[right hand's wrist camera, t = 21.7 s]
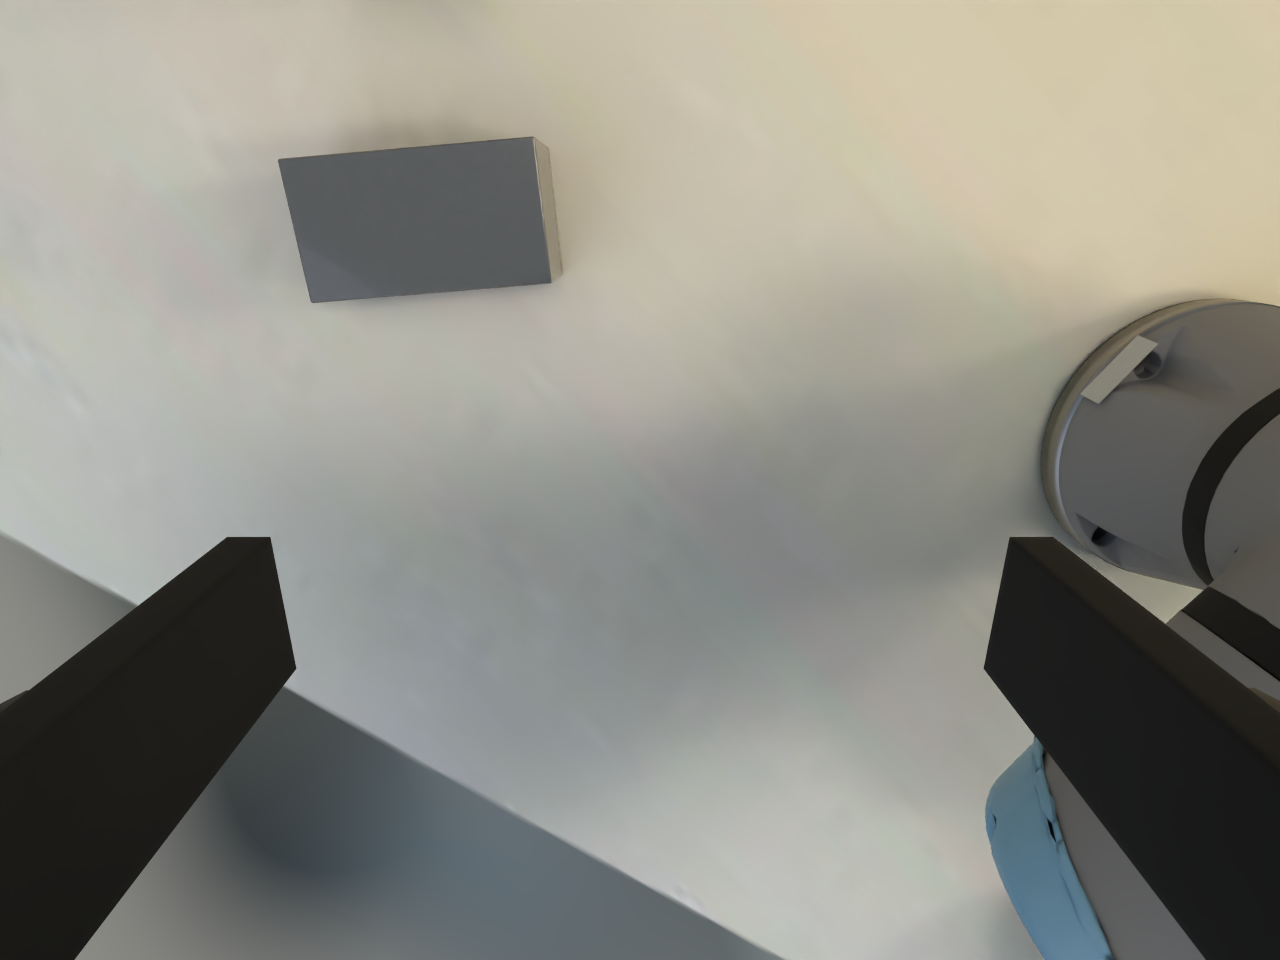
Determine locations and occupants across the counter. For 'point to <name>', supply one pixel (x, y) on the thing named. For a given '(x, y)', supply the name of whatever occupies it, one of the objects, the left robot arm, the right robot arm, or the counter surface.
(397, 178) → the grey block
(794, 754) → the counter surface
